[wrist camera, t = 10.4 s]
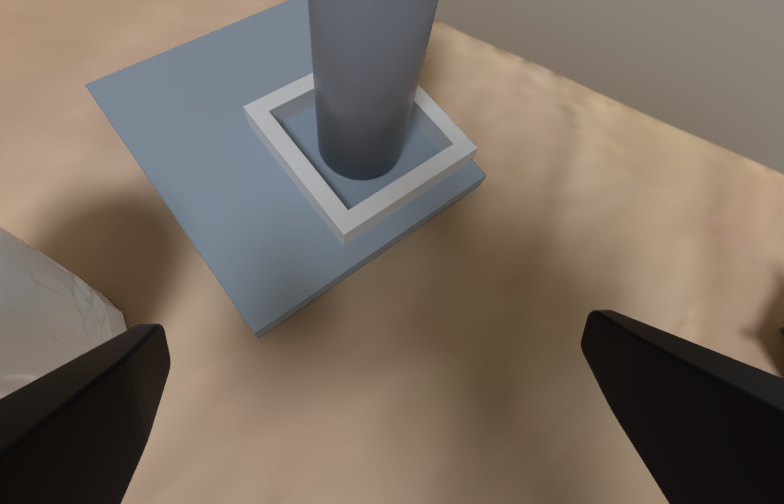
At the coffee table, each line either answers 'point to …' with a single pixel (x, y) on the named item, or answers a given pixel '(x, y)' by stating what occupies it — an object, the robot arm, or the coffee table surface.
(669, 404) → the robot arm
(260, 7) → the coffee table surface
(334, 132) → the grey tall cup
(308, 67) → the grey base plate
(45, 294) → the white cup
